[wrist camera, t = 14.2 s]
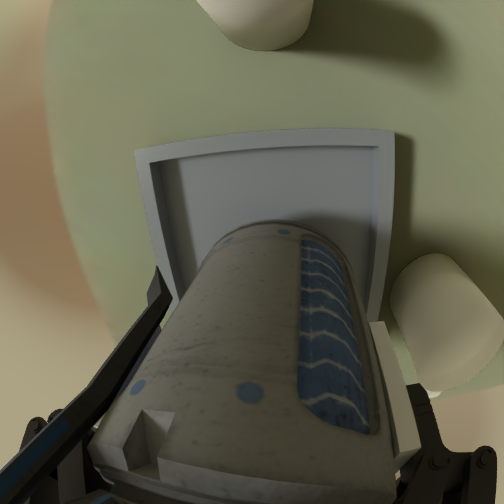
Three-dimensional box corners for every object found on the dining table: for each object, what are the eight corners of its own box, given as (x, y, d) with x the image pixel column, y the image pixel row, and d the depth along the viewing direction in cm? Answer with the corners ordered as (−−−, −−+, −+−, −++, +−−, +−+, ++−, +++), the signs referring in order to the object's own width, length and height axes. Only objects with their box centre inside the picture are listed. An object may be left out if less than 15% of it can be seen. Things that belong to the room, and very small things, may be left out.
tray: (148, 147, 17) (133, 150, 16) (383, 129, 15) (394, 130, 13) (195, 351, 25) (189, 366, 24) (362, 352, 23) (366, 367, 21)
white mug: (396, 254, 19) (440, 321, 11) (466, 251, 17) (519, 306, 10) (378, 344, 22) (397, 415, 15) (440, 336, 21) (469, 397, 14)
